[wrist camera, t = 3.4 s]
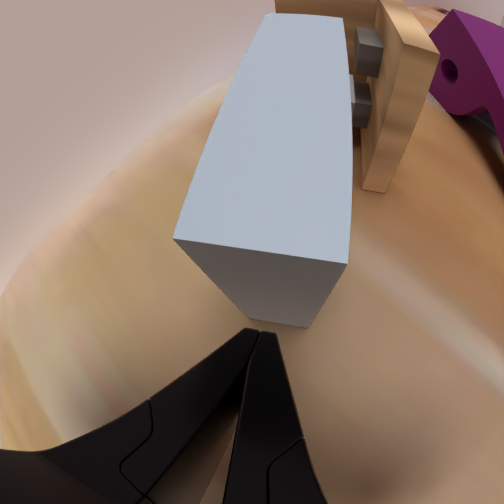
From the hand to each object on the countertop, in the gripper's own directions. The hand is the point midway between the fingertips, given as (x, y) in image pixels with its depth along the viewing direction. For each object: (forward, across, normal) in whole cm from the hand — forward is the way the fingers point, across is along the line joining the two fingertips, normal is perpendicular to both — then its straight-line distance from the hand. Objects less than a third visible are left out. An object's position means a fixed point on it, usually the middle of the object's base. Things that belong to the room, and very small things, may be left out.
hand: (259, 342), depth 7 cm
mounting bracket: (+18, -18, -8) cm, 27 cm away
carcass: (+15, -2, -5) cm, 16 cm away
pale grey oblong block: (+9, 0, 0) cm, 9 cm away
